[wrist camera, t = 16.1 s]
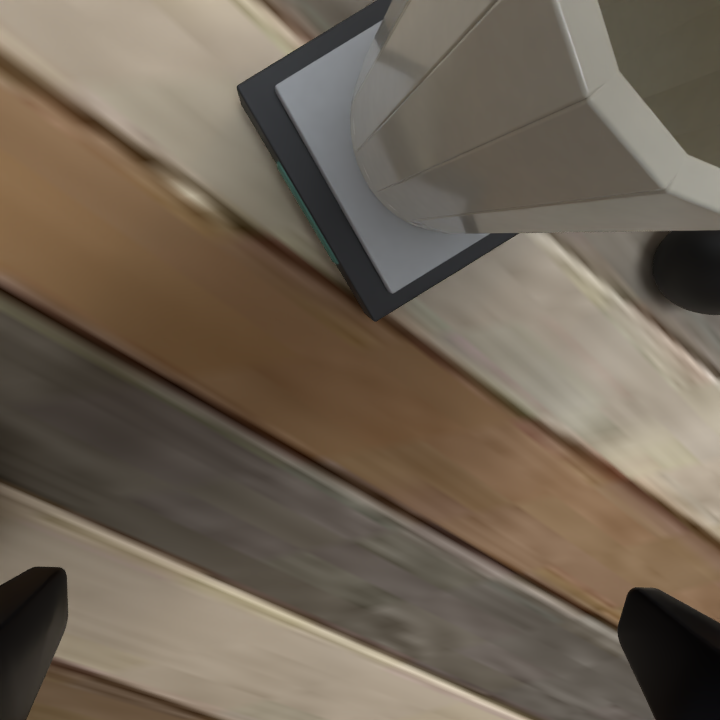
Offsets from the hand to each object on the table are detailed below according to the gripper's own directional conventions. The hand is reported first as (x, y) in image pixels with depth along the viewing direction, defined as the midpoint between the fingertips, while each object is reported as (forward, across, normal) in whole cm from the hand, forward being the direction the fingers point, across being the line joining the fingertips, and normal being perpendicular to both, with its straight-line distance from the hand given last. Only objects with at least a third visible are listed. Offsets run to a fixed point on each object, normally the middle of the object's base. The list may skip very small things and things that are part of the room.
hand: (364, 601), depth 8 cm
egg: (+14, -15, -6) cm, 22 cm away
